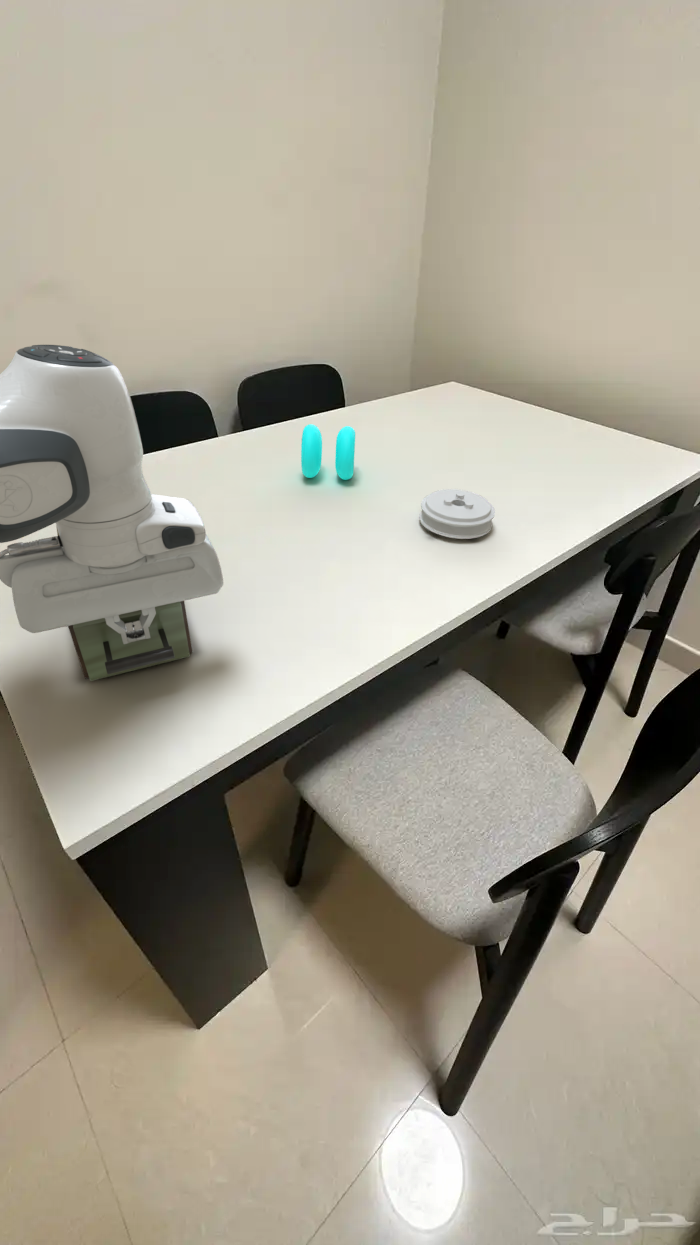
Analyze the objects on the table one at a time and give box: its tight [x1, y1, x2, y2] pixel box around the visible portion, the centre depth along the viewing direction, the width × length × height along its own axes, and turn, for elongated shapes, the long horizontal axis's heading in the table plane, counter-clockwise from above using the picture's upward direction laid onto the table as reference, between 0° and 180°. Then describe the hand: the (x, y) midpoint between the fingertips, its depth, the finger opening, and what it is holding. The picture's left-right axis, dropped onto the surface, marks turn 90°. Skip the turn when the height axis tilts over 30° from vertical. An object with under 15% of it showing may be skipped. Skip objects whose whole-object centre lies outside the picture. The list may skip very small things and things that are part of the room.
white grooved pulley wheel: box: [419, 488, 496, 540], centre depth 100 cm, size 13×13×5 cm
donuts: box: [300, 423, 356, 481], centre depth 112 cm, size 10×10×10 cm
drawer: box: [73, 602, 191, 682], centre depth 69 cm, size 18×11×8 cm, turn 25°
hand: (136, 638), depth 64 cm, fingers closed
